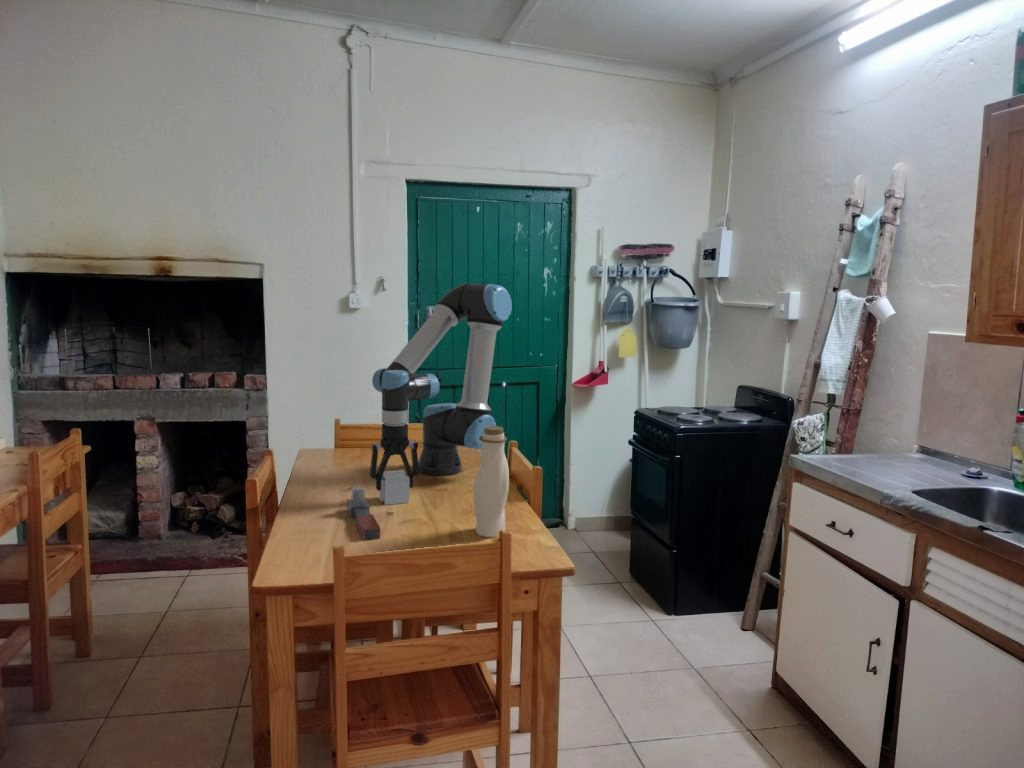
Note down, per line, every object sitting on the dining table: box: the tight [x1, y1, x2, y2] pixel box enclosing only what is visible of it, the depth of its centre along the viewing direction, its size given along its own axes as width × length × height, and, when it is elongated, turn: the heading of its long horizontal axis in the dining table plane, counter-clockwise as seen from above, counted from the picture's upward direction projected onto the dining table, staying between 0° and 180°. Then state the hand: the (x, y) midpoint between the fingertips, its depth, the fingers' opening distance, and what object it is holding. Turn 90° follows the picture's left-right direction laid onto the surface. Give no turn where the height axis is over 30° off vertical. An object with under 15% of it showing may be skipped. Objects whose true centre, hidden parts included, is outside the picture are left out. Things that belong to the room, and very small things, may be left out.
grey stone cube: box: [382, 469, 410, 506], centre depth 201 cm, size 7×7×8 cm
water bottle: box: [473, 425, 510, 538], centre depth 177 cm, size 10×9×28 cm
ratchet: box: [346, 486, 381, 541], centre depth 181 cm, size 5×24×7 cm, turn 22°
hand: (394, 499), depth 201 cm, fingers closed on grey stone cube, 7 cm apart
